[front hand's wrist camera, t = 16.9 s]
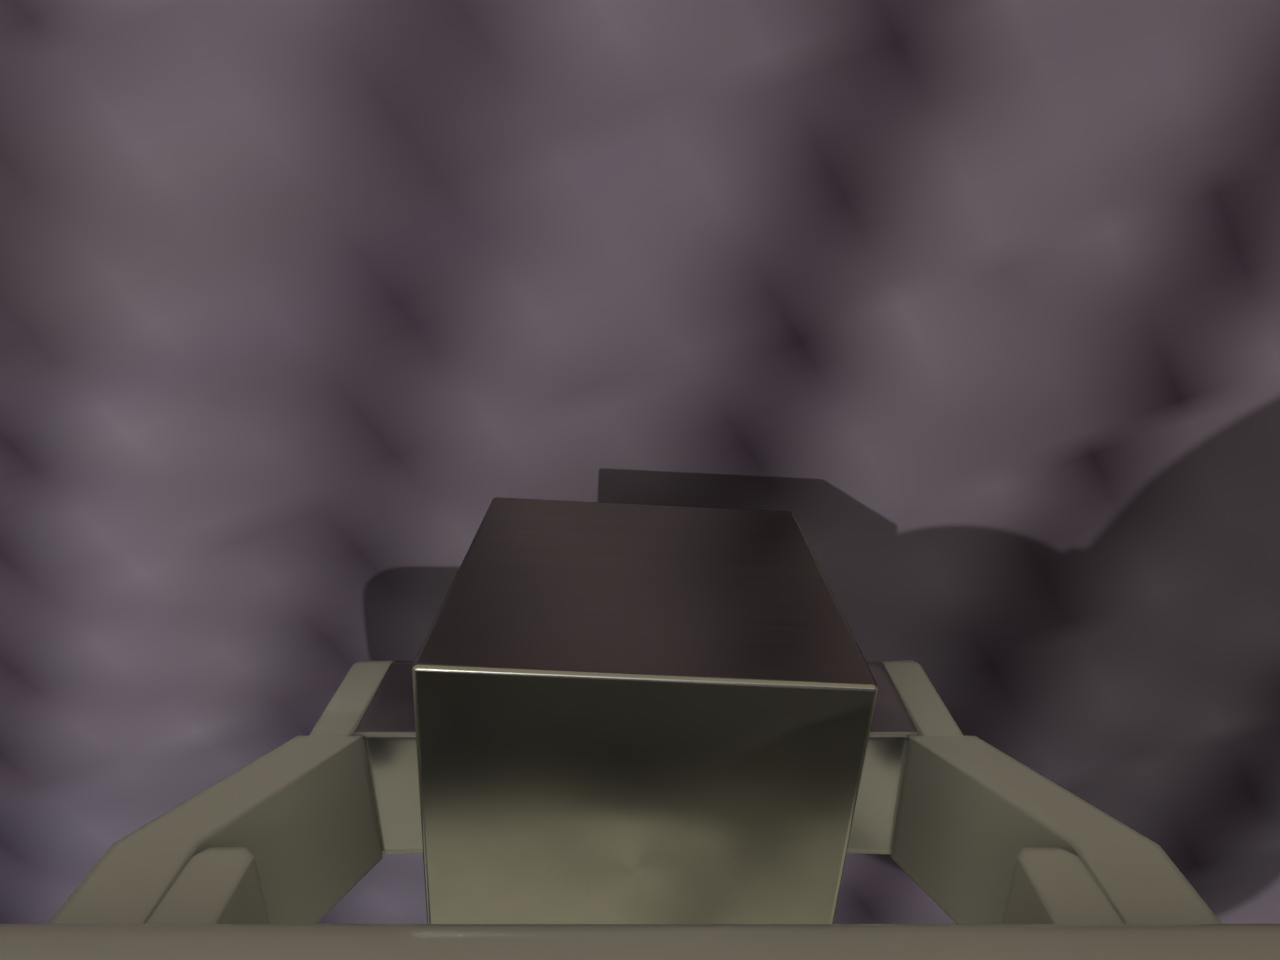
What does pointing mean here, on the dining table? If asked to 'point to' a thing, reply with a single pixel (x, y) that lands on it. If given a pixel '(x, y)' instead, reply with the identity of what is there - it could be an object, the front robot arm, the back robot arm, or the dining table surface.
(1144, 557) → the dining table surface
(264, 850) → the front robot arm
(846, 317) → the dining table surface
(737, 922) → the block
